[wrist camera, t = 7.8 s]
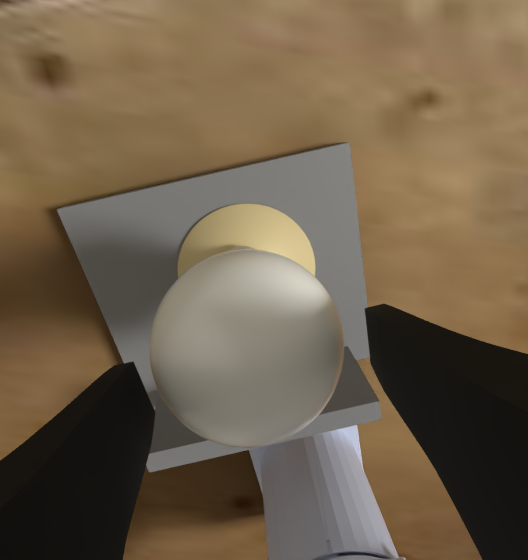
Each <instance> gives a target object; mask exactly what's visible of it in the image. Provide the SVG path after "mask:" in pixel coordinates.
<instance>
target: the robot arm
mask: <svg viewBox="0 0 528 560" xmlns="http://www.w3.org/2000/svg"><path fill="white" fill-rule="evenodd" d="M364 309H365V317H366V326H367V335H368V344H369V353H370V362H371V365H372V367H373V369H374V371H375V374H376V376H377V378H378V380H379V382H380V384H381V386H382V388H383V390H384V392H385V393H386V395H387V396H388V398H389V399H390V401H391V402H392V404H393V405H394V407H395V408H396V410H397V411H398V413H399V414H400V416H401V417H402V419H403V420H404V422H405V423H406V425H407V426H408V428H409V429H410V431H411V432H412V434H413V435H414V437H415V438H416V440H417V441H418V443H419V444H420V446H421V447H422V449H423V450H424V452H425V453H426V455H427V457H428V458H429V460H430V461H431V463H432V465H433V466H434V468H435V470H436V471H437V473H438V475H439V477H440V479H441V481H442V482H443V484H444V486H445V488H446V490H447V492H448V494H449V495H450V497H451V499H452V501H453V503H454V505H455V507H456V509H457V510H458V512H459V514H460V516H461V518H462V520H463V522H464V524H465V526H466V528H467V530H468V532H469V534H470V536H471V538H472V540H473V541H474V543H475V545H476V547H477V549H478V551H479V553H480V555H481V557H482V559H483V560H528V354H525V353H521V352H518V351H514V350H510V349H507V348H503V347H499V346H496V345H492V344H489V343H486V342H482V341H479V340H476V339H473V338H471V337H468V336H465V335H462V334H459V333H456V332H453V331H451V330H448V329H445V328H443V327H440V326H438V325H435V324H433V323H430V322H428V321H425V320H423V319H421V318H418V317H416V316H414V315H411V314H409V313H406V312H404V311H402V310H399V309H397V308H394V307H392V306H389V305H386V304H381V305H377V306H372V307H368V308H364ZM154 421H155V411H154V408H153V406H152V404H151V401H150V399H149V397H148V394H147V392H146V389H145V387H144V385H143V382H142V380H141V378H140V375H139V373H138V371H137V368H136V366H135V364H134V361H133V362H128V363H124V364H119V365H115V366H113V367H112V368H110V369H109V370H108V371H106V372H105V373H104V374H103V375H101V376H100V377H99V378H98V379H97V380H96V381H94V382H93V383H92V384H91V385H90V386H89V387H88V388H87V389H85V390H84V391H83V392H82V393H81V394H80V395H79V396H78V397H76V398H75V399H74V400H73V401H72V402H71V403H70V404H69V405H68V406H66V407H65V408H64V409H63V410H62V411H61V412H60V413H58V414H57V415H56V416H55V417H54V418H53V419H51V420H50V421H49V422H48V423H47V424H45V425H44V426H43V427H42V428H41V429H39V430H38V431H37V432H36V433H35V434H34V435H32V436H31V437H30V438H29V439H28V440H26V441H25V442H24V443H23V444H21V445H20V446H19V447H18V448H16V449H15V450H14V451H12V452H11V453H10V454H9V455H7V456H6V457H5V458H3V459H2V460H1V461H0V560H123V554H124V549H125V543H126V539H127V534H128V530H129V526H130V522H131V518H132V514H133V511H134V507H135V504H136V500H137V496H138V493H139V489H140V485H141V482H142V478H143V475H144V471H145V467H146V463H147V460H148V456H149V452H150V448H151V444H152V437H153V430H154ZM249 452H250V456H251V459H252V462H253V465H254V469H255V472H256V475H257V478H258V482H259V485H260V488H261V491H262V494H263V503H264V515H265V526H266V538H267V550H268V560H406V559H405V558H404V557H398V554H397V552H396V549H395V547H394V544H393V542H392V539H391V537H390V534H389V532H388V529H387V527H386V525H385V522H384V520H383V517H382V515H381V512H380V510H379V507H378V505H377V502H376V500H375V497H374V495H373V492H372V490H371V487H370V485H369V482H368V480H367V477H366V475H365V472H364V470H363V465H362V458H361V451H360V444H359V437H358V430H357V425H355V426H351V427H346V428H342V429H337V430H333V431H329V432H324V433H320V434H316V435H311V436H307V437H303V438H298V439H294V440H290V441H285V442H281V443H276V444H272V445H268V446H263V447H259V448H255V449H250V450H249Z"/></svg>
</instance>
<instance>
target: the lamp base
mask: <svg viewBox="0 0 528 560" xmlns="http://www.w3.org/2000/svg"><path fill="white" fill-rule="evenodd" d="M57 212H58V214H59V216H60V218H61V221H62V223H63V225H64V228H65V230H66V232H67V234H68V237H69V239H70V241H71V243H72V246H73V248H74V250H75V253H76V255H77V257H78V259H79V262H80V264H81V266H82V269H83V271H84V273H85V275H86V278H87V280H88V282H89V285H90V287H91V289H92V291H93V294H94V296H95V298H96V301H97V303H98V305H99V307H100V310H101V312H102V314H103V317H104V319H105V321H106V323H107V326H108V328H109V330H110V333H111V335H112V337H113V339H114V342H115V344H116V346H117V348H118V351H119V353H120V355H121V358H122V360H123V362H124V363H128V362H133V361H134V364H135V366H136V368H137V371H138V373H139V375H140V378H141V380H142V382H143V385H144V387H145V389H146V392H147V394H148V397H149V399H150V401H151V404H152V406H153V407H155V406H156V408H155V421H154V430H153V437H152V444H151V448H150V452H149V456H148V460H147V463H146V466H147V468H148V470H149V472H155V471H159V470H163V469H168V468H172V467H176V466H181V465H185V464H189V463H194V462H198V461H202V460H207V459H211V458H215V457H220V456H224V455H229V454H233V453H237V452H242V451H246V450H250V449H255V448H259V447H250V448H242V447H232V446H226V445H222V444H218V443H215V442H212V441H210V440H207V439H205V438H203V437H201V436H199V435H198V434H196V433H194V432H193V431H191V430H190V429H189V428H187V427H186V426H185V425H183V424H182V423H181V422H180V421H179V420H178V419H177V418H176V417H175V416H174V415H173V413H172V412H171V411H170V410H169V408H168V407H167V406H166V404H165V403H164V401H163V399H162V397H161V396H160V394H159V391H158V389H157V387H156V384H155V381H154V378H153V374H152V370H151V365H150V356H149V342H150V334H151V328H152V324H153V320H154V317H155V314H156V312H157V309H158V307H159V305H160V303H161V301H162V299H163V297H164V296H165V294H166V293H167V291H168V290H169V288H170V287H171V286H172V285H173V283H174V282H175V281H176V280H177V279H178V278H179V277H180V276H181V275H182V274H183V273H184V272H186V271H187V270H188V269H189V268H191V267H192V266H194V265H195V264H197V263H198V262H200V261H202V260H204V259H206V258H208V257H210V256H213V255H216V254H219V253H222V252H226V251H228V250H230V249H232V248H234V247H238V246H248V247H252V248H254V249H258V250H265V251H269V252H273V253H277V254H280V255H282V256H285V257H287V258H289V259H291V260H293V261H295V262H297V263H298V264H300V265H301V266H303V267H304V268H306V269H307V270H308V271H309V272H310V273H312V274H313V275H314V276H315V277H316V278H317V279H318V280H319V281H320V283H321V284H322V285H323V286H324V287H325V289H326V290H327V292H328V293H329V295H330V296H331V298H332V300H333V302H334V304H335V306H336V308H337V311H338V313H339V316H340V320H341V324H342V328H343V334H344V361H343V367H342V371H341V375H340V379H339V382H338V384H337V387H336V389H335V391H334V393H333V395H332V397H331V399H330V400H329V402H328V404H327V405H326V406H325V408H324V409H323V410H322V412H321V413H320V414H319V415H318V416H317V417H316V418H315V419H314V420H313V421H312V422H311V423H310V424H309V425H308V426H306V427H305V428H304V429H302V430H301V431H299V432H298V433H296V434H295V435H293V436H291V437H289V438H287V439H285V440H282V441H280V442H277V443H281V442H285V441H290V440H294V439H298V438H303V437H307V436H311V435H316V434H320V433H324V432H329V431H333V430H337V429H342V428H346V427H351V426H355V425H359V424H364V423H368V422H372V421H377V420H381V412H380V403H379V400H378V398H377V396H376V394H375V393H374V391H373V389H372V387H371V386H370V384H369V382H368V380H367V379H366V377H365V375H364V373H363V372H362V370H361V368H360V366H359V365H358V363H357V361H356V360H360V359H365V358H369V357H370V353H369V344H368V335H367V326H366V317H365V309H364V308H368V306H367V297H366V288H365V279H364V269H363V260H362V251H361V242H360V233H359V223H358V214H357V205H356V196H355V187H354V178H353V168H352V159H351V150H350V142H344V143H338V144H334V145H330V146H325V147H321V148H316V149H312V150H308V151H303V152H299V153H295V154H290V155H286V156H281V157H277V158H273V159H268V160H264V161H260V162H255V163H251V164H246V165H242V166H238V167H233V168H229V169H225V170H220V171H216V172H211V173H207V174H203V175H198V176H194V177H190V178H185V179H181V180H176V181H172V182H168V183H163V184H159V185H155V186H150V187H146V188H141V189H137V190H133V191H128V192H124V193H120V194H115V195H111V196H106V197H102V198H98V199H93V200H89V201H85V202H80V203H76V204H71V205H67V206H64V207H62V208H59V209H57ZM274 444H276V443H274ZM270 445H272V444H270ZM266 446H268V445H266ZM260 447H263V446H260Z"/></svg>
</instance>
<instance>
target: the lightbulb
mask: <svg viewBox="0 0 528 560" xmlns="http://www.w3.org/2000/svg"><path fill="white" fill-rule="evenodd" d="M149 356H150V365H151V370H152V374H153V378H154V381H155V384H156V387H157V389H158V391H159V394H160V396H161V397H162V399H163V401H164V403H165V404H166V406H167V407H168V408H169V410H170V411H171V412H172V413H173V415H174V416H175V417H176V418H177V419H178V420H179V421H180V422H181V423H182V424H183V425H185V426H186V427H187V428H189V429H190V430H191V431H193V432H194V433H196V434H198V435H199V436H201V437H203V438H205V439H207V440H210V441H212V442H215V443H218V444H222V445H226V446H232V447H242V448H250V447H260V446H266V445H270V444H274V443H277V442H280V441H282V440H285V439H287V438H289V437H291V436H293V435H295V434H296V433H298V432H299V431H301V430H302V429H304V428H305V427H306V426H308V425H309V424H310V423H311V422H312V421H313V420H314V419H315V418H316V417H317V416H318V415H319V414H320V413H321V412H322V410H323V409H324V408H325V406H326V405H327V404H328V402H329V400H330V399H331V397H332V395H333V393H334V391H335V389H336V387H337V384H338V382H339V379H340V375H341V371H342V367H343V361H344V334H343V328H342V324H341V320H340V316H339V313H338V311H337V308H336V306H335V304H334V302H333V300H332V298H331V296H330V295H329V293H328V292H327V290H326V289H325V287H324V286H323V285H322V284H321V283H320V281H319V280H318V279H317V278H316V277H315V276H314V275H313V274H312V273H310V272H309V271H308V270H307V269H306V268H304V267H303V266H301V265H300V264H298V263H297V262H295V261H293V260H291V259H289V258H287V257H285V256H282V255H280V254H277V253H273V252H269V251H265V250H258V249H254V248H252V247H248V246H238V247H234V248H232V249H230V250H228V251H226V252H222V253H219V254H216V255H213V256H210V257H208V258H206V259H204V260H202V261H200V262H198V263H197V264H195V265H194V266H192V267H191V268H189V269H188V270H187V271H186V272H184V273H183V274H182V275H181V276H180V277H179V278H178V279H177V280H176V281H175V282H174V283H173V285H172V286H171V287H170V288H169V290H168V291H167V293H166V294H165V296H164V297H163V299H162V301H161V303H160V305H159V307H158V309H157V312H156V314H155V317H154V320H153V324H152V328H151V334H150V342H149Z"/></svg>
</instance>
